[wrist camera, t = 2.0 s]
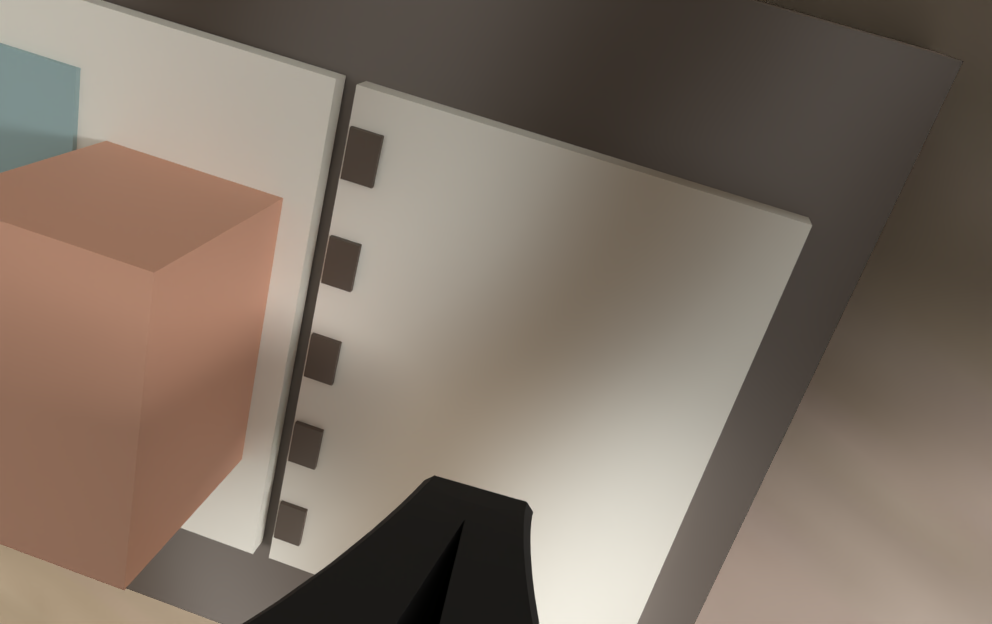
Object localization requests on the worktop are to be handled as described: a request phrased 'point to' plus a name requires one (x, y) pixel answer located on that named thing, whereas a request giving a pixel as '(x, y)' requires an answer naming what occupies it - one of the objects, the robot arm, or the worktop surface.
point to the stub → (148, 278)
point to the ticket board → (566, 276)
